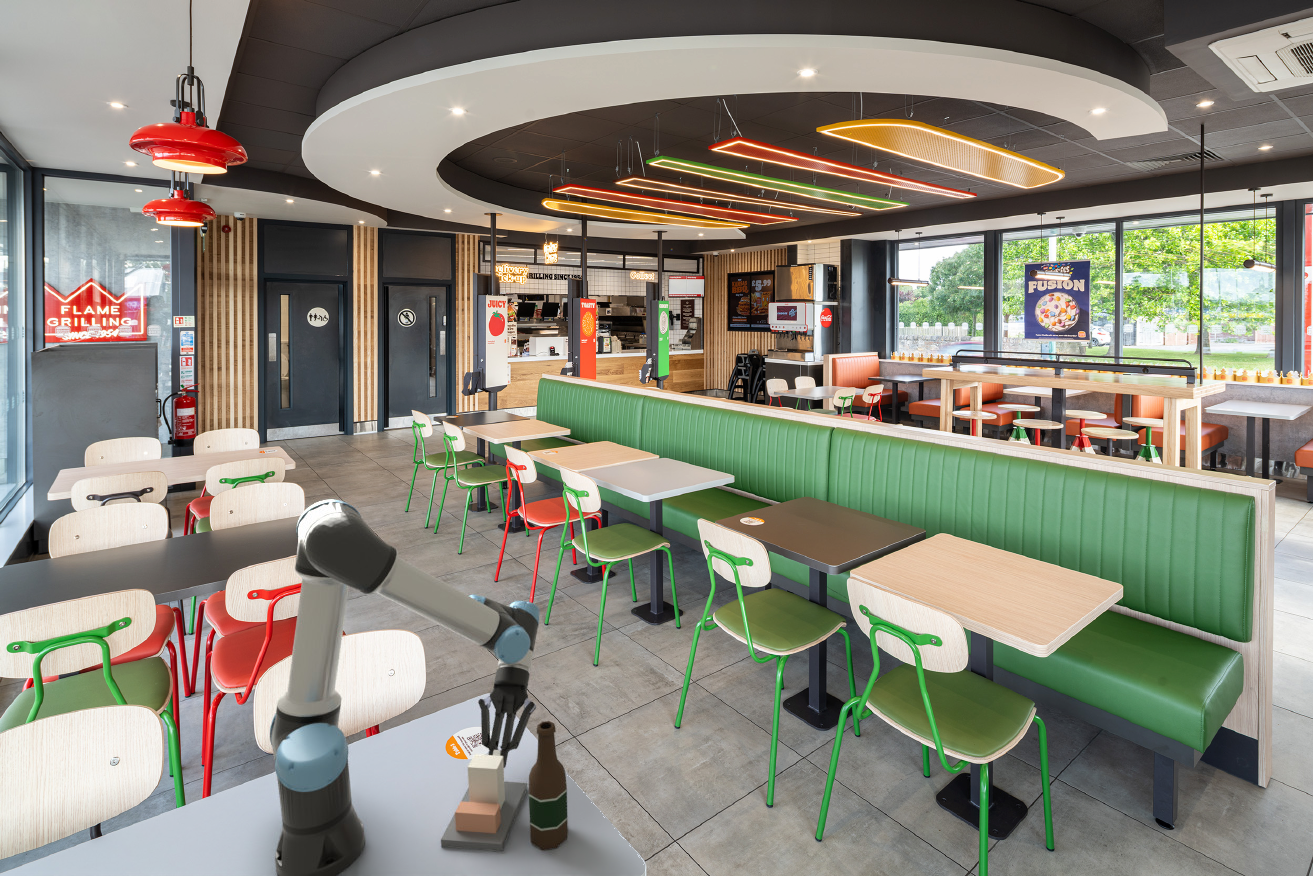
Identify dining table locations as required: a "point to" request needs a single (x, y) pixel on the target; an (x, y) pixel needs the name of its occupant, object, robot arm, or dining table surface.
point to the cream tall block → (486, 779)
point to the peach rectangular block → (477, 817)
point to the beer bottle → (547, 793)
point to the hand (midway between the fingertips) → (492, 784)
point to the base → (488, 840)
